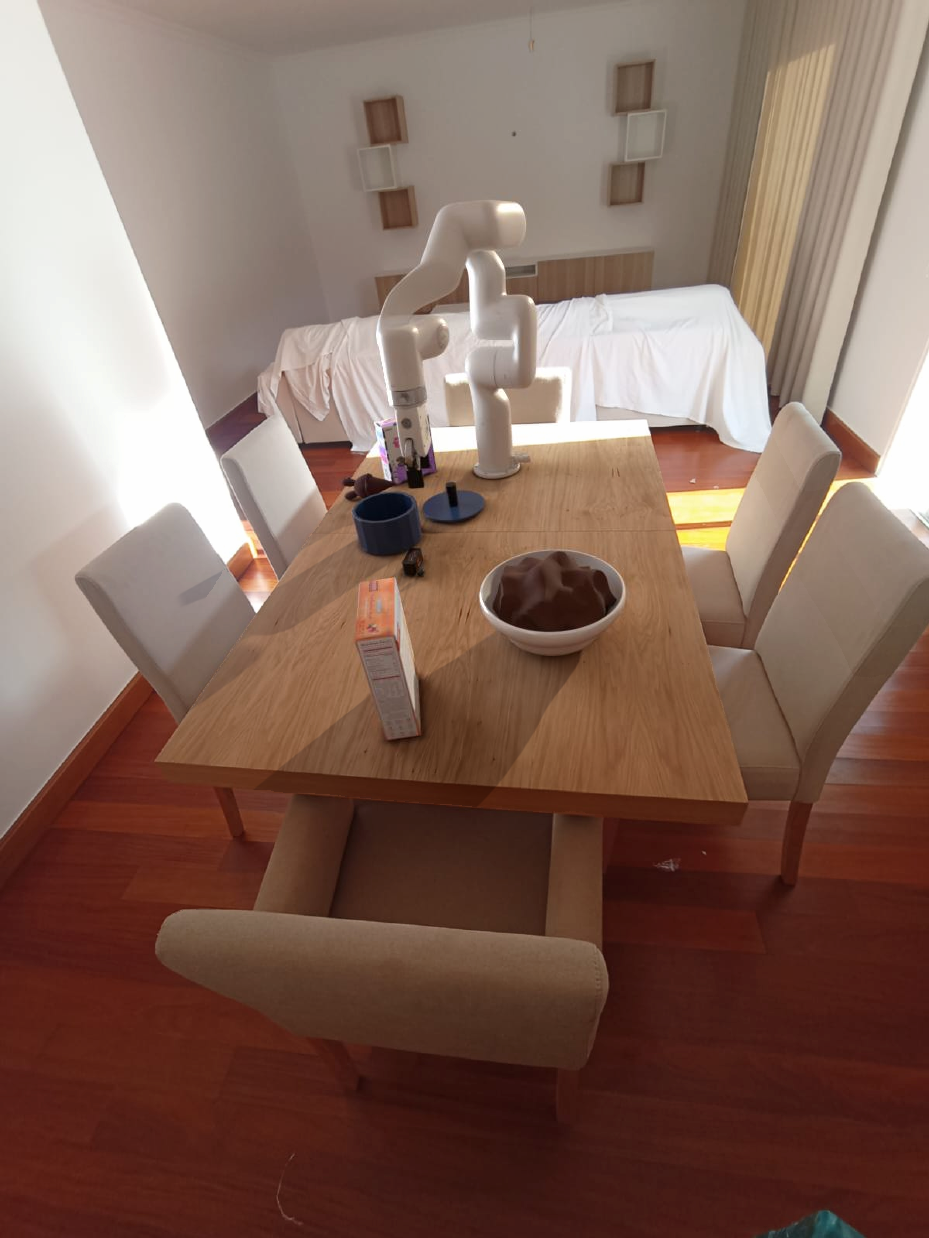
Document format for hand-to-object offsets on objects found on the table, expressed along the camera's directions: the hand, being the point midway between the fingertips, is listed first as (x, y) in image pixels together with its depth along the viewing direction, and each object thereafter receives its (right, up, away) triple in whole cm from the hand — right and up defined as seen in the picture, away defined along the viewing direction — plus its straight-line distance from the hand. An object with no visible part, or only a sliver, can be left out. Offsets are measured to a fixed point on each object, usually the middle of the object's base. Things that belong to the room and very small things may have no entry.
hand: (420, 477), depth 126 cm
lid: (+7, -2, +23) cm, 24 cm away
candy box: (-6, +10, +41) cm, 43 cm away
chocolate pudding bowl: (+25, -32, -18) cm, 44 cm away
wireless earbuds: (-1, -19, +3) cm, 20 cm away
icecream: (-15, +2, +33) cm, 37 cm away
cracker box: (-1, -44, -29) cm, 53 cm away
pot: (-8, -11, +15) cm, 20 cm away
